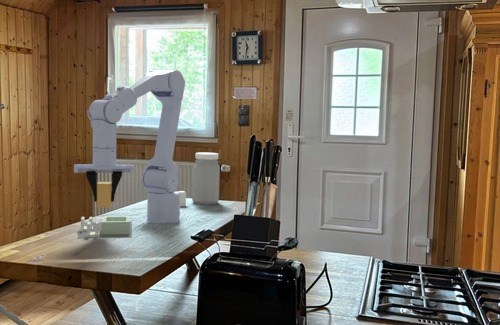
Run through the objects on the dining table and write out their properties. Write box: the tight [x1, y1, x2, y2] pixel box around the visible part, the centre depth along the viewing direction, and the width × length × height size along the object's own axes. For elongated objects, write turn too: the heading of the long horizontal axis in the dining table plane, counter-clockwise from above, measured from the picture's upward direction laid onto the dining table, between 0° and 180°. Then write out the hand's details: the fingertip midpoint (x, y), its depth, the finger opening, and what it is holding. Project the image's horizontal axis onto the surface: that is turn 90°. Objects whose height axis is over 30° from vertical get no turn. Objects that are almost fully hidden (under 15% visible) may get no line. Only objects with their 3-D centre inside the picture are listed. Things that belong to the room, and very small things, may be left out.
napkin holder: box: [175, 190, 187, 207], centre depth 172 cm, size 15×11×6 cm
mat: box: [76, 221, 133, 240], centre depth 133 cm, size 13×18×1 cm
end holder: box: [101, 215, 131, 235], centre depth 132 cm, size 7×7×3 cm
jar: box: [191, 151, 221, 206], centre depth 181 cm, size 10×10×18 cm
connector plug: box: [96, 181, 112, 208], centre depth 128 cm, size 3×3×6 cm
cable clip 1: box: [79, 216, 94, 232], centre depth 132 cm, size 3×3×3 cm
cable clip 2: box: [86, 221, 100, 237], centre depth 126 cm, size 3×3×3 cm
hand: (104, 200), depth 128 cm, fingers closed on connector plug, 3 cm apart
